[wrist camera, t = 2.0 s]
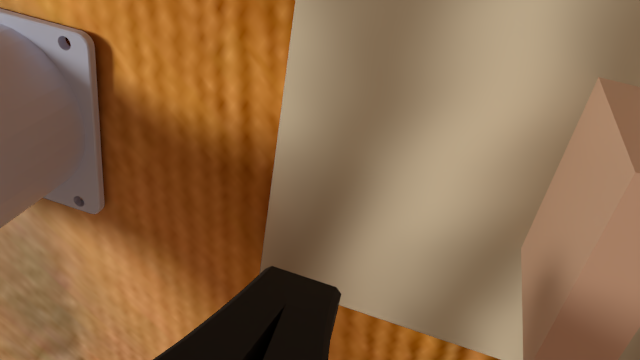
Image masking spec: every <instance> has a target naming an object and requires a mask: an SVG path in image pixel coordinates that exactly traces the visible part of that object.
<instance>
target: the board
mask: <svg viewBox="0 0 640 360" xmlns="http://www.w3.org/2000/svg"><path fill="white" fill-rule="evenodd" d="M598 77H601V78H605V79H609V80H613V81H617V82H621V83H625V84H629V85H633V86H637V87H640V0H296V2H295V9H294V17H293V24H292V32H291V39H290V47H289V55H288V62H287V70H286V77H285V85H284V93H283V100H282V108H281V115H280V123H279V130H278V138H277V146H276V153H275V161H274V168H273V176H272V184H271V191H270V199H269V206H268V214H267V222H266V229H265V237H264V244H263V252H262V259H261V267H260V273H261V272H262V271H263V270H264V269H266V268H268V267H270V266H274V267H277V268H280V269H283V270H286V271H289V272H292V273H295V274H298V275H301V276H304V277H307V278H310V279H313V280H316V281H319V282H322V283H325V284H328V285H331V286H334V287H337V288H338V290H339V291H340V293H341V298H340V302H339V305H340V306H343V307H346V308H349V309H352V310H355V311H358V312H361V313H364V314H367V315H370V316H373V317H376V318H379V319H382V320H385V321H388V322H391V323H394V324H397V325H400V326H403V327H406V328H409V329H412V330H415V331H418V332H421V333H424V334H427V335H430V336H433V337H436V338H438V339H441V340H444V341H447V342H450V343H453V344H456V345H459V346H462V347H465V348H468V349H471V350H474V351H477V352H480V353H483V354H486V355H489V356H492V357H495V358H498V359H501V360H523V324H522V268H521V247H522V245H523V243H524V241H525V238H526V236H527V234H528V232H529V230H530V227H531V225H532V223H533V221H534V219H535V216H536V214H537V212H538V210H539V208H540V205H541V203H542V201H543V199H544V197H545V194H546V192H547V190H548V188H549V185H550V183H551V181H552V179H553V177H554V174H555V172H556V170H557V168H558V166H559V163H560V161H561V159H562V157H563V155H564V152H565V150H566V148H567V146H568V143H569V141H570V139H571V137H572V135H573V132H574V130H575V128H576V126H577V124H578V121H579V119H580V117H581V115H582V113H583V110H584V108H585V106H586V104H587V102H588V99H589V97H590V95H591V93H592V90H593V88H594V86H595V84H596V82H597V79H598ZM618 360H640V327H639V329H638V330H637V332H636V333H635V335H634V336H633V338H632V339H631V341H630V342H629V344H628V345H627V347H626V348H625V350H624V351H623V353H622V354H621V356H620V358H619V359H618Z"/></svg>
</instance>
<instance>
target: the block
mask: <svg viewBox="0 0 640 360" xmlns="http://www.w3.org/2000/svg"><path fill="white" fill-rule="evenodd" d="M521 268H522V324H523V360H618V359H619V358H620V356H621V354H622V353H623V351H624V350H625V348H626V347H627V345H628V344H629V342H630V341H631V339H632V338H633V336H634V335H635V333H636V332H637V330H638V329H639V327H640V87H637V86H633V85H629V84H625V83H621V82H617V81H613V80H609V79H605V78H601V77H598V79H597V82H596V84H595V86H594V88H593V90H592V93H591V95H590V97H589V99H588V102H587V104H586V106H585V108H584V110H583V113H582V115H581V117H580V119H579V121H578V124H577V126H576V128H575V130H574V132H573V135H572V137H571V139H570V141H569V143H568V146H567V148H566V150H565V152H564V155H563V157H562V159H561V161H560V163H559V166H558V168H557V170H556V172H555V174H554V177H553V179H552V181H551V183H550V185H549V188H548V190H547V192H546V194H545V197H544V199H543V201H542V203H541V205H540V208H539V210H538V212H537V214H536V216H535V219H534V221H533V223H532V225H531V227H530V230H529V232H528V234H527V236H526V238H525V241H524V243H523V245H522V247H521Z"/></svg>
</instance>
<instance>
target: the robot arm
mask: <svg viewBox="0 0 640 360" xmlns="http://www.w3.org/2000/svg"><path fill="white" fill-rule="evenodd" d="M65 37H66V38H67V39H68V40H69V41H70V44H71V46H69V45H68V44H67V42H66V39H65ZM80 197H81V198H82V199H83V200H82V199H81V198H80ZM42 198H45V199H48V200H51V201H54V202H57V203H60V204H63V205H66V206H69V207H72V208H75V209H78V210H81V211H84V212H87V213H90V214H97V213H99V212H100V211H101V210H102V209H103V208H104V188H103V172H102V156H101V139H100V123H99V107H98V91H97V75H96V58H95V46H94V42H93V40H92V38H91V37H90V36H89V35H88V34H87V33H86V32H84V31H81V30H78V29H74V28H70V27H67V26H63V25H59V24H56V23H52V22H48V21H45V20H41V19H37V18H34V17H30V16H26V15H23V14H19V13H15V12H12V11H8V10H4V9H1V8H0V228H1V227H3V226H4V225H5V224H7V223H8V222H10V221H11V220H12V219H14V218H15V217H17V216H18V215H19V214H21V213H22V212H24V211H25V210H26V209H28V208H29V207H30V206H32V205H33V204H35V203H36V202H37V201H39V200H40V199H42ZM340 298H341V293H340V291H339V290H338V288H337V287H334V286H331V285H328V284H325V283H322V282H319V281H316V280H313V279H310V278H307V277H304V276H301V275H298V274H295V273H292V272H289V271H286V270H283V269H280V268H277V267H274V266H270V267H268V268H266V269H264V270H263V271H262V272H261V273H260V274H259V275H258V276H257V277H256V278H255V279H254V280H253V281H252V282H251V283H250V284H248V285H247V286H246V287H245V288H244V289H243V290H242V291H241V292H240V293H238V294H237V295H236V296H235V297H234V298H233V299H231V300H230V301H229V302H228V303H227V304H225V305H224V306H223V307H222V308H221V309H219V310H218V311H217V312H216V313H215V314H213V315H212V316H211V317H210V318H208V319H207V320H206V321H204V322H203V323H202V324H201V325H199V326H198V327H197V328H195V329H194V330H193V331H192V332H190V333H189V334H188V335H187V336H185V337H184V338H183V339H181V340H180V341H179V342H177V343H176V344H175V345H173V346H172V347H170V348H169V349H167V350H166V351H165V352H163V353H162V354H160V355H159V356H157V357H156V358H155V359H153V360H328V354H329V345H330V339H331V335H332V331H333V327H334V322H335V318H336V314H337V310H338V306H339V302H340Z"/></svg>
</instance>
